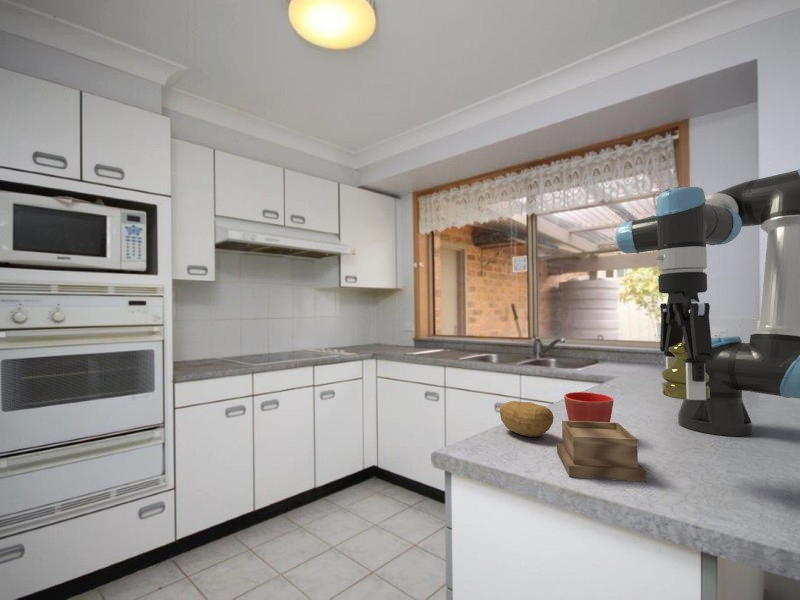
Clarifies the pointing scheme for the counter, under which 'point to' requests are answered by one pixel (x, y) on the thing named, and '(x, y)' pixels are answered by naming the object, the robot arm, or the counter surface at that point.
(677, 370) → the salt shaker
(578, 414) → the flower pot
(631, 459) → the brown wooden square box
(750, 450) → the counter surface
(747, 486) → the counter surface
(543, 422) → the potato
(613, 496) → the counter surface
